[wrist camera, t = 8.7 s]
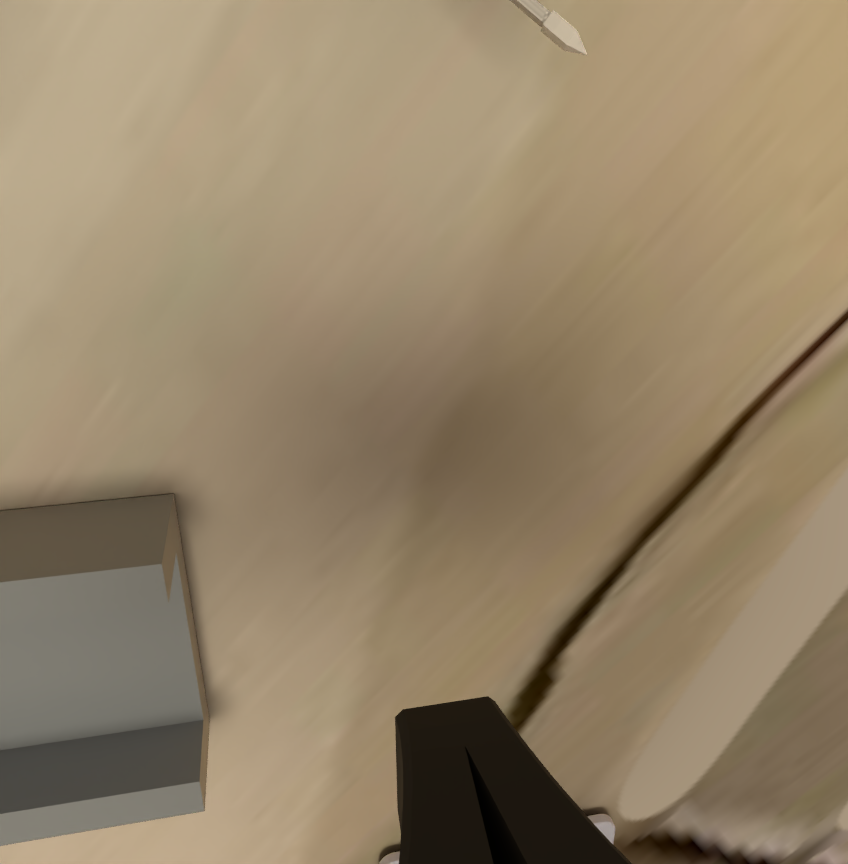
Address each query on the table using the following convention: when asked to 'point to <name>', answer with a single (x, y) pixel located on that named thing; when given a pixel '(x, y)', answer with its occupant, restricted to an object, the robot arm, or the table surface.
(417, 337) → the table surface
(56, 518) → the trough
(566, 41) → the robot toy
